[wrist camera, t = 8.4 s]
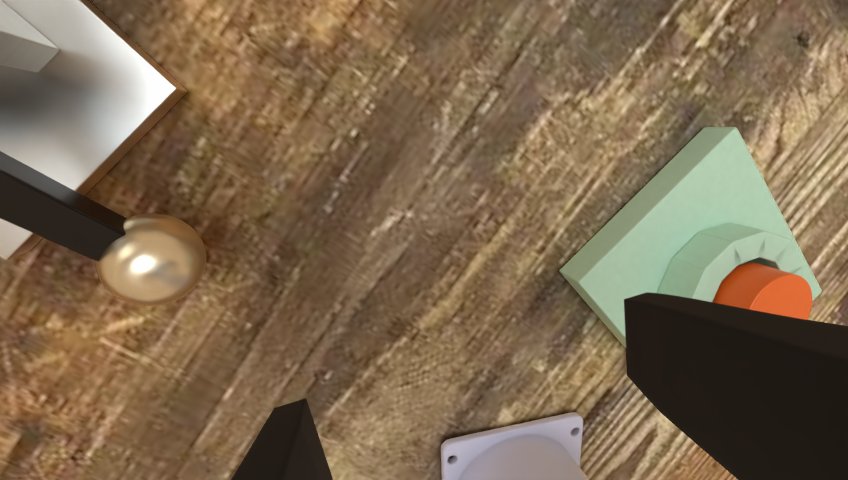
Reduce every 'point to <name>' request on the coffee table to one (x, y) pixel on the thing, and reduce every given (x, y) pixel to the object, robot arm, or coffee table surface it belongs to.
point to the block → (687, 232)
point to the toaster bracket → (72, 96)
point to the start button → (765, 291)
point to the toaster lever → (106, 236)
